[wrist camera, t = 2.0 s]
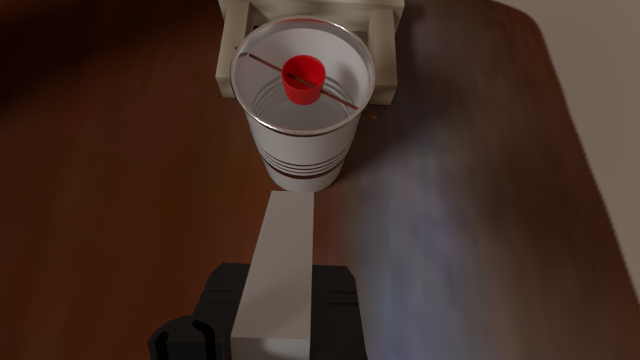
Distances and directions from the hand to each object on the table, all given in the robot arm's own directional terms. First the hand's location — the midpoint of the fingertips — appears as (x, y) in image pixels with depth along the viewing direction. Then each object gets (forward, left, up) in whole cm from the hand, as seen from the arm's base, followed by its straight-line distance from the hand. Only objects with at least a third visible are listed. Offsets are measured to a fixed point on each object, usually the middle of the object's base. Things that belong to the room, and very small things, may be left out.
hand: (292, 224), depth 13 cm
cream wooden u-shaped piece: (0, +21, -16) cm, 26 cm away
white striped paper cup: (0, +10, -16) cm, 19 cm away
